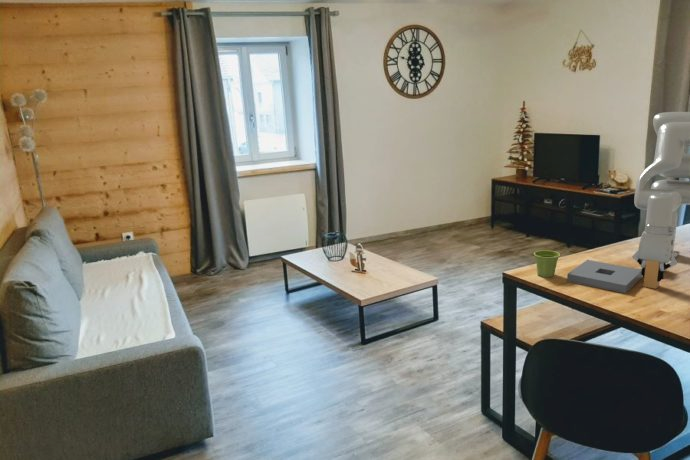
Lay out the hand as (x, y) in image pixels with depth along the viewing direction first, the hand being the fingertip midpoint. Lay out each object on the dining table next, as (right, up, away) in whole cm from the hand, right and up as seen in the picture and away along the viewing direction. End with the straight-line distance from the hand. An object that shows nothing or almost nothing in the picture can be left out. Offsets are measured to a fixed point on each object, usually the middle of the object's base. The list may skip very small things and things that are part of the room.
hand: (652, 278), depth 184 cm
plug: (0, -3, +1) cm, 3 cm away
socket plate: (-12, -1, +9) cm, 15 cm away
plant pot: (-31, 0, +17) cm, 36 cm away
